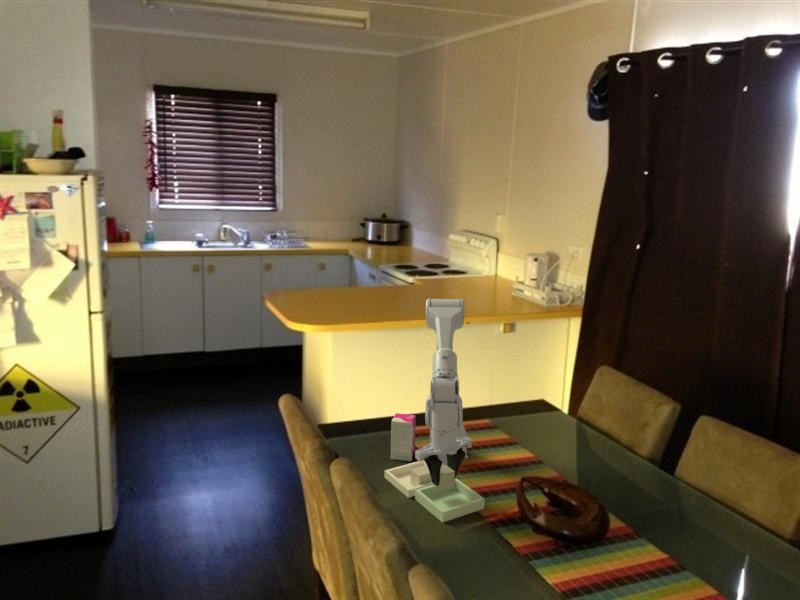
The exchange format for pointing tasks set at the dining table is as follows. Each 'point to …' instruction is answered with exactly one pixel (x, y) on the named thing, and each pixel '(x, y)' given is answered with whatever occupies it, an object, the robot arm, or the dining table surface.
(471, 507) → the tub
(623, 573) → the dining table surface
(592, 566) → the dining table surface
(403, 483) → the tray
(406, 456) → the supplement box
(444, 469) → the cream cube block
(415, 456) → the robot arm
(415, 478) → the ivory sharp-edged cube
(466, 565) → the dining table surface
